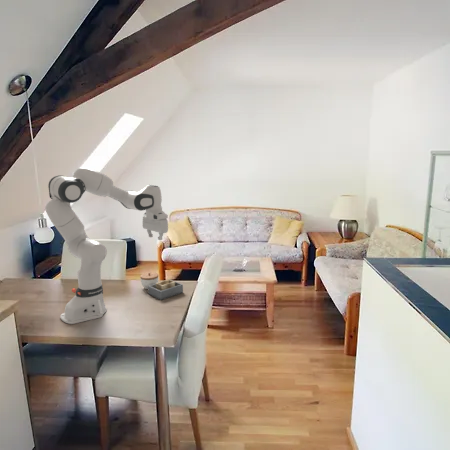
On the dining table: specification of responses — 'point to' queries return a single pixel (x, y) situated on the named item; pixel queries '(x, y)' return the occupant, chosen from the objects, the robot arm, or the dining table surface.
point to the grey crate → (165, 291)
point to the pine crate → (165, 285)
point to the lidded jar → (149, 279)
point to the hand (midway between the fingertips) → (155, 238)
